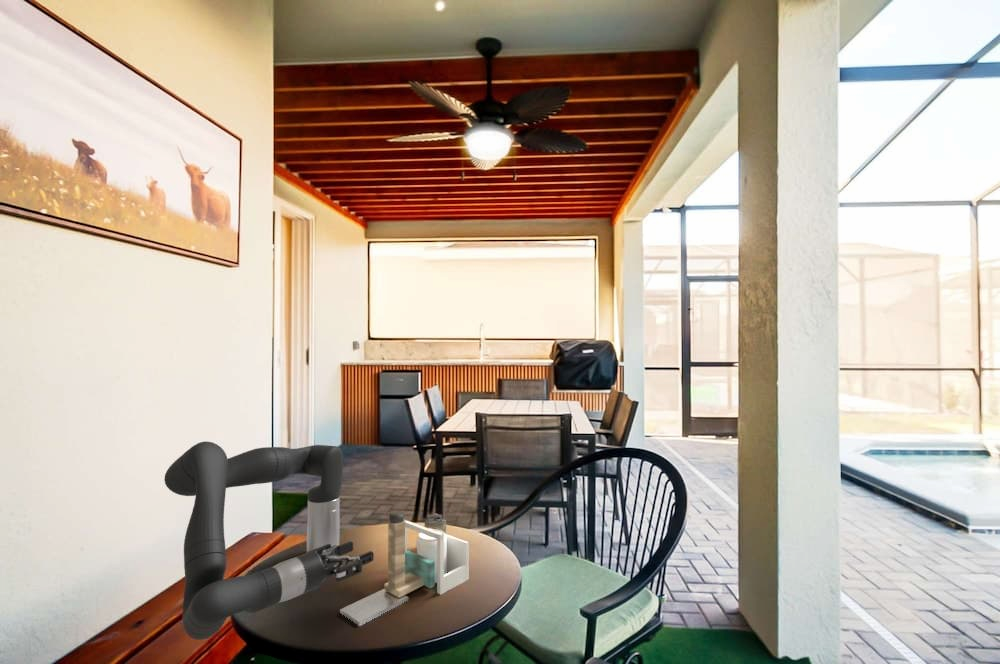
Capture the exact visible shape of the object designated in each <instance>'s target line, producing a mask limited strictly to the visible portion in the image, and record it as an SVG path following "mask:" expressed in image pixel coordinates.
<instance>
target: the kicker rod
mask: <svg viewBox="0 0 1000 664" xmlns="http://www.w3.org/2000/svg"><path fill="white" fill-rule="evenodd" d="M405 520H406V519H405V514H404V512H402V511H394V512H391V513H389V520H388V522H387V524H388V525H387V527H388V528H387V529H388V530H387V532H388V533H387V537H388V538H387V582H385V583H384V588H383V589H384V590H386V591H388V592H389V593H391V594H393V595H395V596H397V597H401V596H403V595H408V594H410V593H411V592H414V591H415V590H418V589H420V588H421V587H423V586H425V587H427V588H429V589H432V588H434V587H435V585H436V584H435V562H434V561H432V560H429V559H427V558H425V557H422V556H420V555H418V554H417V553H415V552H413V551H410V550H408V549H407V551H405Z"/></svg>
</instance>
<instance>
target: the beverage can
mask: <svg viewBox="0 0 1000 664" xmlns="http://www.w3.org/2000/svg"><path fill="white" fill-rule="evenodd" d="M431 530H434V531H437V532H440V533H442V534H444V574H446V573H447V538H446V536H445V533H444V532H443V531H441V530H437V529H431ZM416 554H418V555H420V556H422V557H425V558H427V559H429V560H432V561H434V562H435V583H436V584H437V539H436V538H433V537H431V536H428V535H425V534H423V533H420V532H419V534H418V537H417V538H416Z"/></svg>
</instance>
